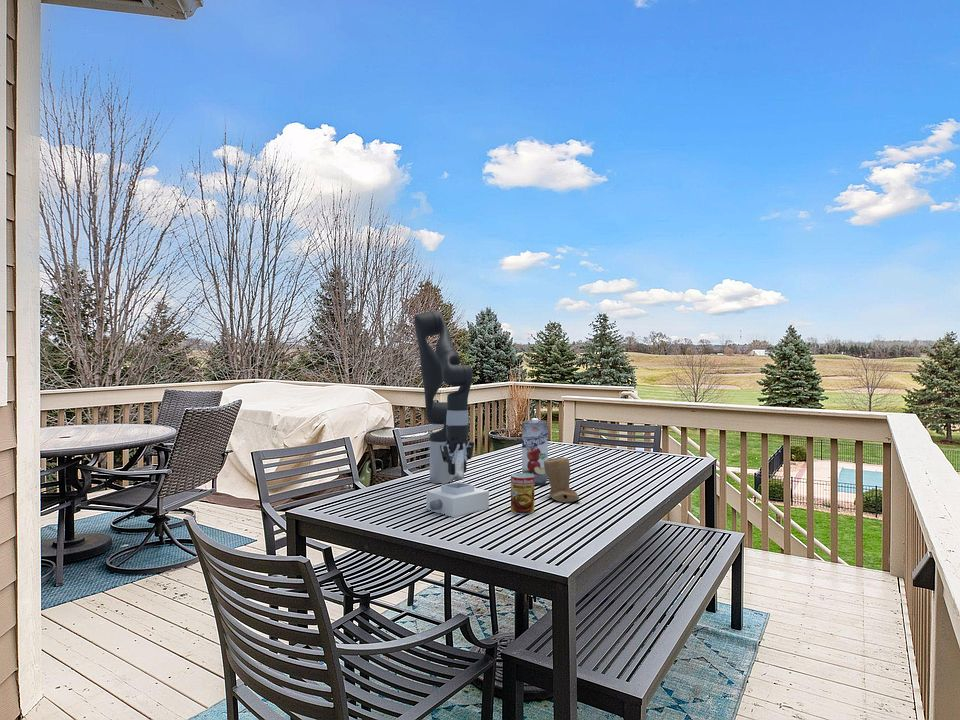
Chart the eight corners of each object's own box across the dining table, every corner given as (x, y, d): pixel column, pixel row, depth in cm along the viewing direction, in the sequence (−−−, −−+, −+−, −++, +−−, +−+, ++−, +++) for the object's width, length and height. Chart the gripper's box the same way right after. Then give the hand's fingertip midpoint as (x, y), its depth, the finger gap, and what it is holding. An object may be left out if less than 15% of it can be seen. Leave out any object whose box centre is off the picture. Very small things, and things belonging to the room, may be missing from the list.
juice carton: (522, 481, 237) (522, 416, 237) (547, 481, 236) (547, 417, 236) (521, 485, 228) (521, 418, 229) (548, 486, 227) (547, 419, 228)
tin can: (458, 477, 195) (458, 448, 195) (466, 478, 191) (466, 449, 192) (448, 478, 192) (448, 449, 192) (456, 480, 188) (456, 450, 188)
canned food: (510, 513, 185) (510, 477, 185) (510, 507, 193) (510, 472, 193) (534, 514, 185) (534, 477, 185) (533, 508, 193) (533, 473, 193)
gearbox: (461, 501, 202) (461, 479, 202) (488, 508, 192) (488, 485, 192) (419, 510, 189) (419, 487, 189) (446, 519, 179) (446, 493, 179)
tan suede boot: (542, 493, 214) (542, 454, 214) (574, 494, 213) (574, 454, 214) (546, 503, 199) (546, 461, 199) (579, 504, 198) (579, 461, 198)
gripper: (465, 421, 199) (465, 469, 199) (434, 424, 189) (434, 475, 189) (480, 422, 194) (480, 472, 194) (448, 425, 184) (448, 478, 184)
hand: (457, 473), depth 191 cm, fingers closed on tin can, 4 cm apart
